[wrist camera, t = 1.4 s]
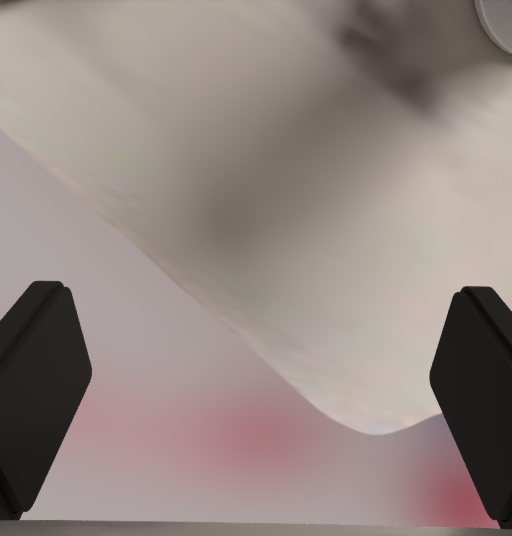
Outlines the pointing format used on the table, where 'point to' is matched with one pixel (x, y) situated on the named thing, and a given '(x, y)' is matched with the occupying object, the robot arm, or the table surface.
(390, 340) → the table surface
